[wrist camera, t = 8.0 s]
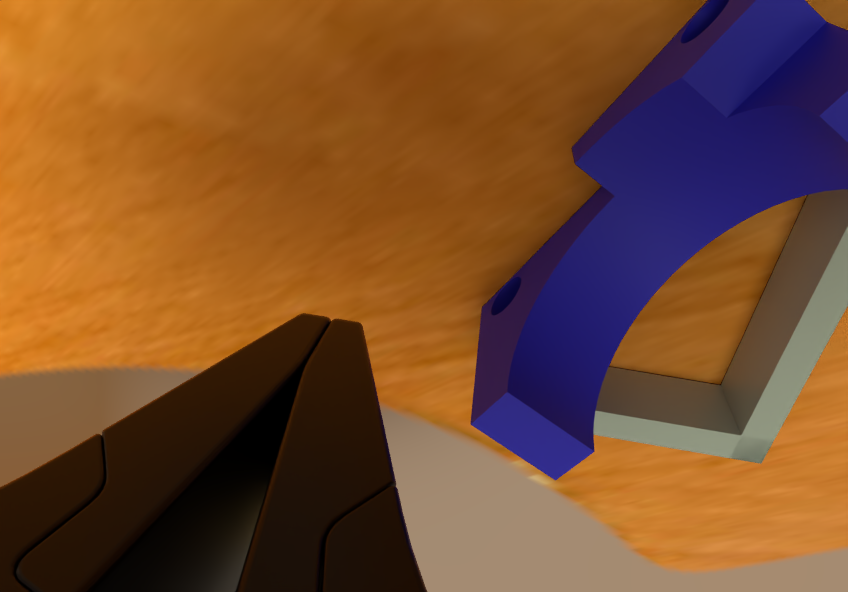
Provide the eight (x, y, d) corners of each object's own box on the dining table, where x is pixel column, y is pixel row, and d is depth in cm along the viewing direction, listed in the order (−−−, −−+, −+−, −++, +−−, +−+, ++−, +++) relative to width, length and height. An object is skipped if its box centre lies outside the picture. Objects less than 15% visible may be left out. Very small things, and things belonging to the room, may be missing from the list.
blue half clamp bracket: (739, -37, 16) (839, -8, 11) (856, 77, 17) (997, 152, 12) (447, 280, 22) (425, 394, 17) (548, 352, 23) (555, 480, 18)
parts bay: (1057, -236, 13) (1157, -262, 11) (739, 411, 23) (761, 463, 21) (623, -285, 14) (641, -319, 12) (488, 369, 23) (484, 415, 21)
